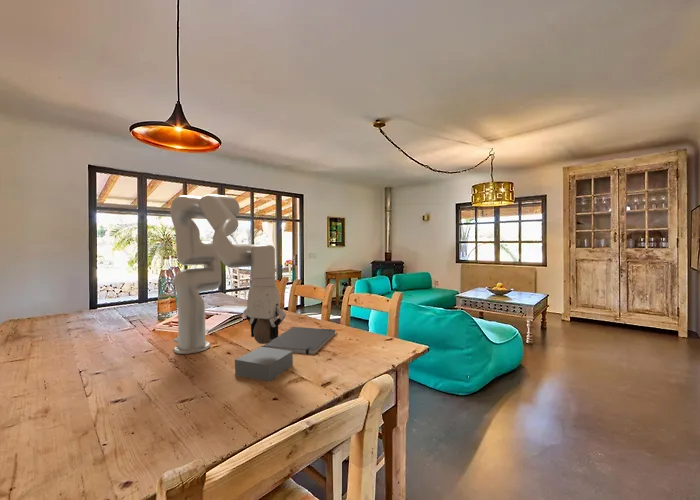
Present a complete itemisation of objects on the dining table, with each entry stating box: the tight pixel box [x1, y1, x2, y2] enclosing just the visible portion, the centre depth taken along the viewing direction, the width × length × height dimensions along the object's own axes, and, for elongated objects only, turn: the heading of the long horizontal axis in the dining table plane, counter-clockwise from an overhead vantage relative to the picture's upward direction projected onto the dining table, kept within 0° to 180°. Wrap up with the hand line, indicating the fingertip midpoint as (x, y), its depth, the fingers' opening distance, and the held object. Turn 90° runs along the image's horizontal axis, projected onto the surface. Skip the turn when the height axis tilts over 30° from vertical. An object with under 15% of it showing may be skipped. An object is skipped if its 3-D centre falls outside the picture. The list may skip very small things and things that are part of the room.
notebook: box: [261, 326, 337, 355], centre depth 133 cm, size 22×2×28 cm
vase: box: [253, 319, 272, 345], centre depth 103 cm, size 7×7×9 cm
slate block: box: [234, 346, 294, 383], centre depth 103 cm, size 13×13×5 cm
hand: (264, 336), depth 103 cm, fingers closed on vase, 6 cm apart
